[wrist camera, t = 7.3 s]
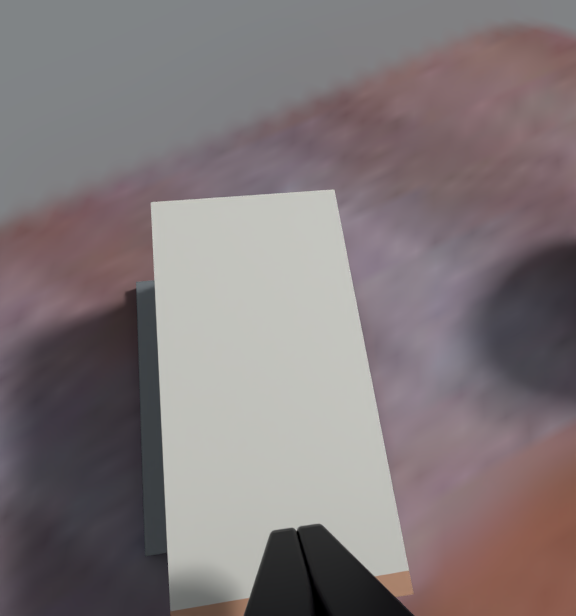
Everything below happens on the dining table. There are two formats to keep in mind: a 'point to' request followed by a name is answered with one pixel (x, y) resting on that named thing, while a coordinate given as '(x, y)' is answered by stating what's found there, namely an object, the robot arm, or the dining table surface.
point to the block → (264, 395)
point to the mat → (151, 422)
